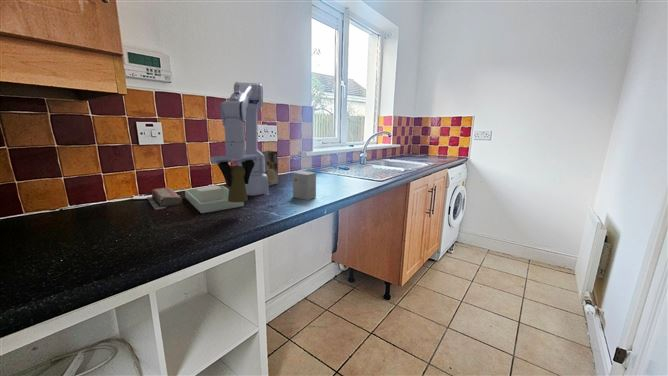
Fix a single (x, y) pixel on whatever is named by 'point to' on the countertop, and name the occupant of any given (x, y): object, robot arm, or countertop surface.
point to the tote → (213, 204)
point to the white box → (209, 193)
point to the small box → (304, 185)
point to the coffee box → (271, 166)
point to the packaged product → (164, 198)
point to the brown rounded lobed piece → (237, 185)
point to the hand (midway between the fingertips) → (237, 184)
